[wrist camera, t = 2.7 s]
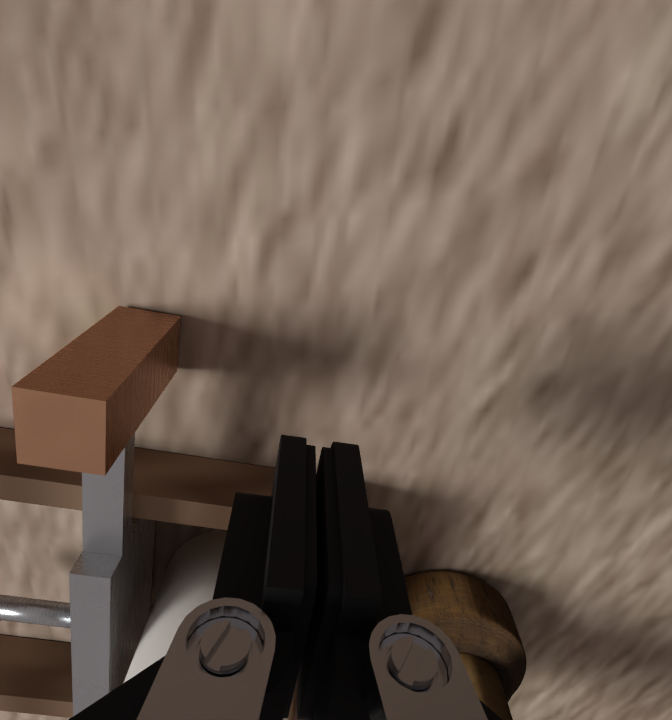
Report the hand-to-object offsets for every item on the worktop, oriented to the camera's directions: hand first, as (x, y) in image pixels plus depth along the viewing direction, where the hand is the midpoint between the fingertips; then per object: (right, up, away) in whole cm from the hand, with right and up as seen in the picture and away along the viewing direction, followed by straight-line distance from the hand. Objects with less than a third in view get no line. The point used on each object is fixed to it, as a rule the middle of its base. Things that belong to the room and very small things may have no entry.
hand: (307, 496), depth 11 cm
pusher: (-9, -2, +8) cm, 13 cm away
